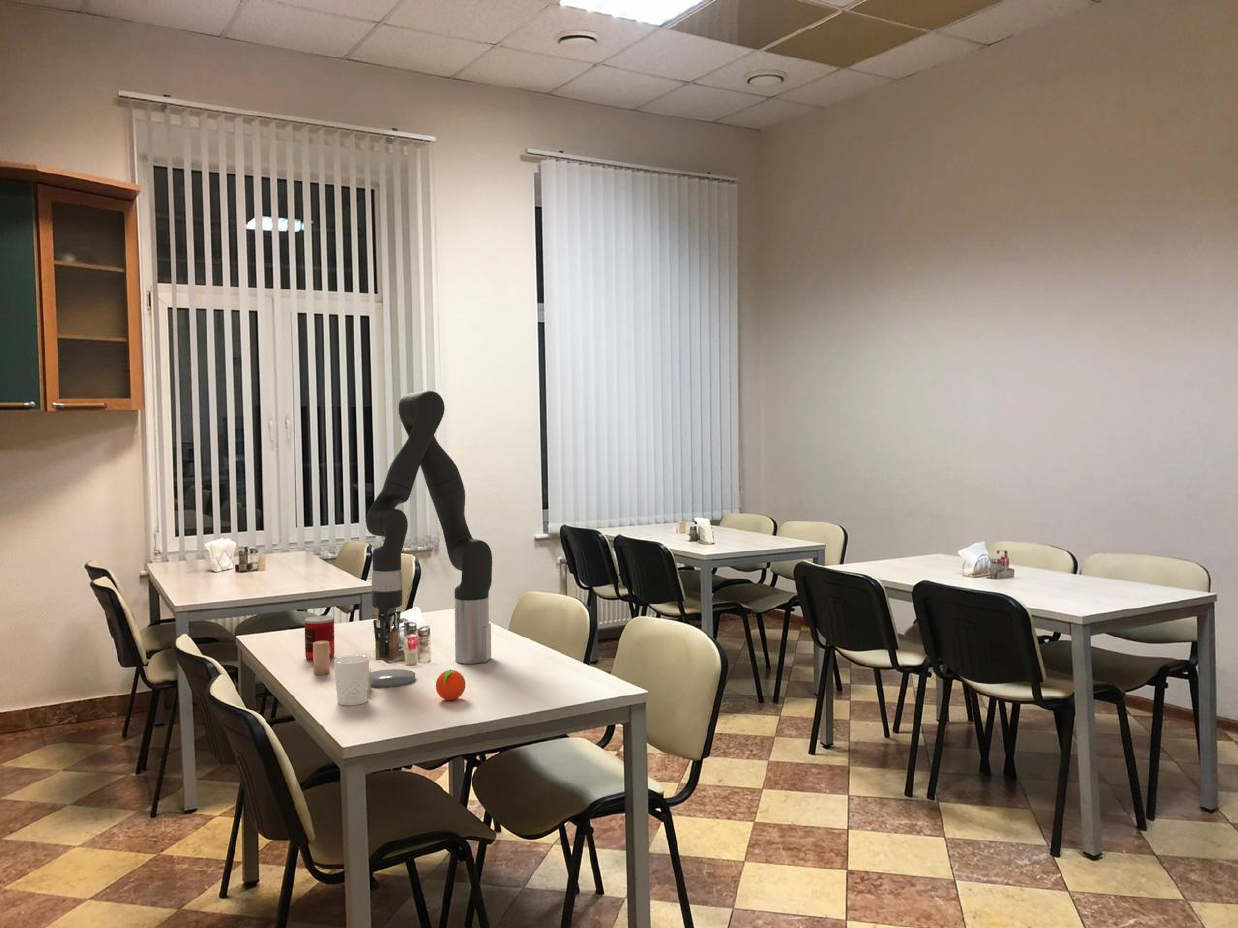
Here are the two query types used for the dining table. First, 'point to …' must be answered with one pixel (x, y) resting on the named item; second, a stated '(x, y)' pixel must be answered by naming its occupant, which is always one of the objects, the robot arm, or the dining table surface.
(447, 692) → the clementine
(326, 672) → the cylinder
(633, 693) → the dining table surface
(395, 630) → the walnut block
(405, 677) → the slate coaster
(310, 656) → the canned food
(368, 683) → the sage cube
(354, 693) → the white cup
